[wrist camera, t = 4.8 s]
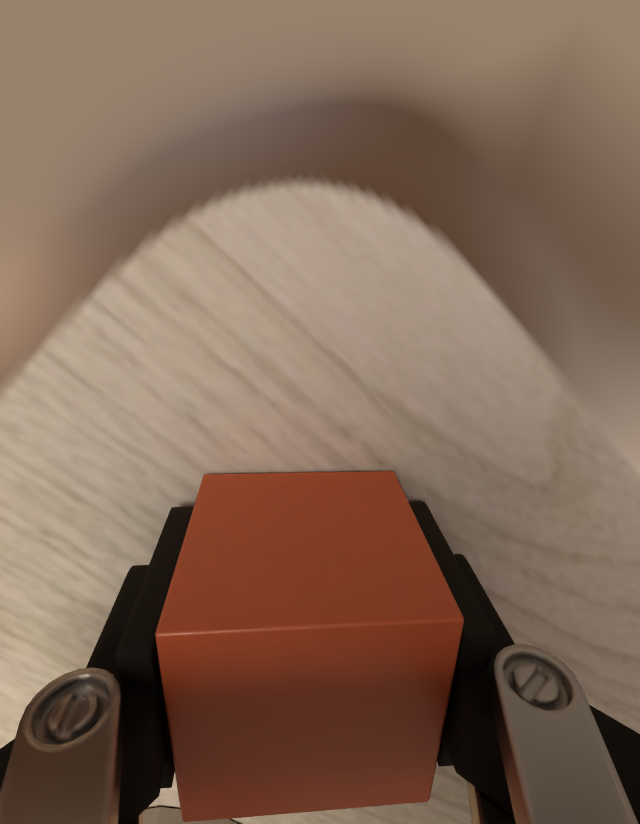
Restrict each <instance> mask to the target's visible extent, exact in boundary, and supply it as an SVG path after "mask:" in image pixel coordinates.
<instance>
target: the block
mask: <svg viewBox="0 0 640 824" xmlns="http://www.w3.org/2000/svg"><path fill="white" fill-rule="evenodd" d="M463 623H464V618H463V616H462V613H461V611H460V609H459V607H458V605H457V603H456V601H455V599H454V597H453V595H452V593H451V590H450V588H449V586H448V584H447V582H446V580H445V578H444V576H443V574H442V572H441V569H440V567H439V565H438V563H437V561H436V559H435V557H434V555H433V553H432V551H431V549H430V546H429V544H428V542H427V540H426V538H425V536H424V534H423V532H422V530H421V528H420V525H419V523H418V521H417V519H416V517H415V515H414V513H413V511H412V509H411V507H410V505H409V502H408V500H407V498H406V496H405V494H404V492H403V490H402V488H401V486H400V484H399V481H398V479H397V477H396V475H395V473H394V472H393V471H363V472H308V473H253V474H206V475H204V476H203V479H202V482H201V485H200V489H199V492H198V495H197V498H196V502H195V505H194V508H193V512H192V515H191V518H190V521H189V525H188V528H187V531H186V535H185V538H184V541H183V544H182V548H181V551H180V554H179V557H178V561H177V564H176V567H175V571H174V574H173V577H172V580H171V584H170V587H169V590H168V593H167V597H166V600H165V603H164V607H163V610H162V613H161V616H160V620H159V623H158V626H157V630H156V633H155V637H156V644H157V651H158V657H159V664H160V671H161V678H162V685H163V692H164V699H165V705H166V712H167V719H168V726H169V733H170V740H171V747H172V754H173V760H174V767H175V774H176V781H177V788H178V795H179V802H180V808H181V815H182V821H183V822H194V821H205V820H217V819H229V818H241V817H252V816H264V815H276V814H287V813H299V812H311V811H322V810H334V809H346V808H358V807H369V806H381V805H393V804H404V803H416V802H427V801H429V799H430V793H431V788H432V783H433V778H434V773H435V768H436V762H437V757H438V752H439V747H440V742H441V737H442V731H443V726H444V721H445V716H446V711H447V706H448V701H449V695H450V690H451V685H452V680H453V675H454V670H455V664H456V659H457V654H458V649H459V644H460V639H461V633H462V628H463Z"/></svg>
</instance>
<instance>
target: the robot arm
mask: <svg viewBox="0 0 640 824" xmlns="http://www.w3.org/2000/svg"><path fill="white" fill-rule="evenodd" d="M409 505H410V507H411V509H412V511H413V513H414V515H415V517H416V519H417V521H418V523H419V525H420V528H421V530H422V532H423V534H424V536H425V538H426V540H427V542H428V544H429V546H430V549H431V551H432V553H433V555H434V557H435V559H436V561H437V563H438V565H439V567H440V569H441V572H442V574H443V576H444V578H445V580H446V582H447V584H448V586H449V588H450V590H451V593H452V595H453V597H454V599H455V601H456V603H457V605H458V607H459V609H460V611H461V613H462V616H463V618H464V623H463V628H462V633H461V639H460V644H459V649H458V654H457V659H456V664H455V670H454V675H453V680H452V685H451V690H450V695H449V701H448V706H447V711H446V716H445V721H444V726H443V731H442V737H441V742H440V747H439V752H438V757H437V762H438V765H439V766H452V765H454V768H455V771H456V773H458V774H459V775H460V776H461V777H463V778H464V779H465V780H467V787H468V794H469V801H470V808H471V816H472V823H473V824H640V734H639V733H637V732H635V731H634V730H632V729H630V728H628V727H627V726H625V725H623V724H621V723H620V722H618V721H616V720H614V719H613V718H611V717H609V716H608V715H606V714H604V713H602V712H601V711H599V710H597V709H595V708H594V707H592V706H590V705H588V702H587V700H586V697H585V695H584V693H583V690H582V688H581V685H580V684H579V682H578V680H577V679H576V677H575V675H574V674H573V672H572V671H571V670H570V669H569V668H568V667H567V666H566V665H565V664H564V663H563V662H562V661H560V660H559V659H558V658H556V657H555V656H553V655H552V654H550V653H548V652H546V651H544V650H542V649H540V648H537V647H533V646H529V645H515V644H514V642H513V640H512V638H511V636H510V635H509V633H508V631H507V629H506V628H505V626H504V624H503V622H502V621H501V619H500V617H499V615H498V614H497V612H496V610H495V608H494V607H493V605H492V603H491V601H490V600H489V598H488V596H487V594H486V593H485V591H484V589H483V587H482V586H481V584H480V582H479V580H478V579H477V577H476V575H475V573H474V572H473V570H472V568H471V566H470V564H469V563H468V561H467V560H466V558H465V557H464V556H463V555H461V554H453V553H452V551H451V549H450V548H449V546H448V544H447V542H446V540H445V538H444V536H443V534H442V533H441V531H440V529H439V527H438V525H437V523H436V521H435V520H434V518H433V516H432V514H431V512H430V510H429V508H428V507H427V505H426V503H425V502H424V501H412V502H409ZM193 508H194V507H173V508H171V510H170V512H169V515H168V518H167V520H166V523H165V525H164V528H163V531H162V533H161V536H160V538H159V541H158V544H157V546H156V549H155V551H154V554H153V557H152V559H151V562H150V564H149V565H136V566H132V567H131V568H130V570H129V572H128V574H127V576H126V578H125V580H124V583H123V585H122V587H121V590H120V592H119V594H118V596H117V599H116V601H115V603H114V606H113V608H112V610H111V612H110V615H109V617H108V619H107V621H106V624H105V626H104V628H103V631H102V633H101V635H100V637H99V640H98V642H97V644H96V647H95V649H94V651H93V653H92V656H91V658H90V660H89V663H88V665H87V667H86V668H84V669H78V670H75V671H72V672H69V673H66V674H64V675H62V676H60V677H59V678H57V679H55V680H54V681H52V682H50V683H49V684H48V685H47V686H45V687H44V688H43V689H42V690H41V691H40V692H38V693H37V694H36V696H35V697H34V698H33V699H32V701H31V702H30V703H29V704H28V706H27V707H26V709H25V711H24V714H23V716H22V718H21V720H20V723H19V727H18V730H17V734H16V738H15V739H14V740H12V741H11V742H9V743H8V744H7V745H5V746H4V747H2V748H1V749H0V824H143V811H144V810H145V809H146V808H147V807H148V806H149V805H150V804H151V803H152V802H153V801H154V800H155V799H156V798H157V797H158V796H159V793H160V788H171V787H172V783H173V777H174V772H175V767H174V760H173V754H172V747H171V740H170V733H169V726H168V719H167V712H166V705H165V699H164V692H163V685H162V678H161V671H160V664H159V657H158V651H157V644H156V637H155V633H156V630H157V626H158V623H159V620H160V616H161V613H162V610H163V607H164V603H165V600H166V597H167V593H168V590H169V587H170V584H171V580H172V577H173V574H174V571H175V567H176V564H177V561H178V557H179V554H180V551H181V548H182V544H183V541H184V538H185V535H186V531H187V528H188V525H189V521H190V518H191V515H192V512H193Z"/></svg>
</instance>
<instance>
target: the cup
mask: <svg viewBox="0 0 640 824" xmlns="http://www.w3.org/2000/svg"><path fill="white" fill-rule="evenodd" d="M143 824H238V823H236V822H234V821H231V820H229V819H217V820H205V821H194V822H183V821H182V815H181V809H174V808H165V807H156V808H150V809H145V810H144V811H143Z"/></svg>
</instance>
